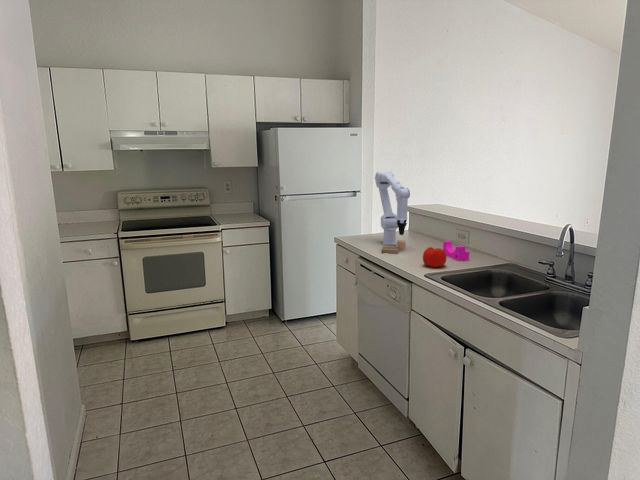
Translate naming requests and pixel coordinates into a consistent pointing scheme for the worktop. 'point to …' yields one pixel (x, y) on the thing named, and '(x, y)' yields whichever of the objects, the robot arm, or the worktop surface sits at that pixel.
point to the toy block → (455, 251)
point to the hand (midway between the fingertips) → (401, 233)
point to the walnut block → (390, 249)
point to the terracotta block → (401, 244)
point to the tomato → (434, 257)
